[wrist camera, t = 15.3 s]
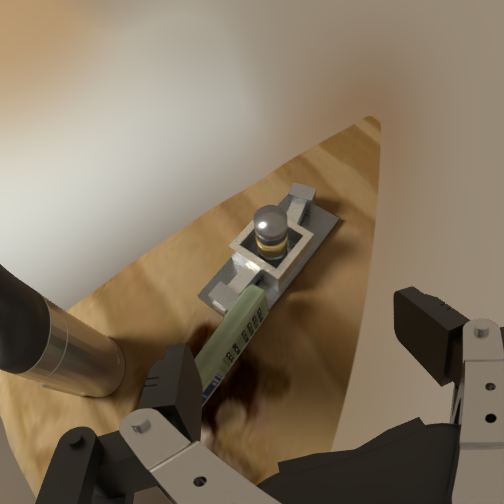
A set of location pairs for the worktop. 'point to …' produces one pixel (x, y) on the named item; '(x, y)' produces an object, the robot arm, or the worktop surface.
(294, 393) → the worktop surface
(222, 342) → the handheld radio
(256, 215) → the grey cylinder with band
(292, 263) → the base
